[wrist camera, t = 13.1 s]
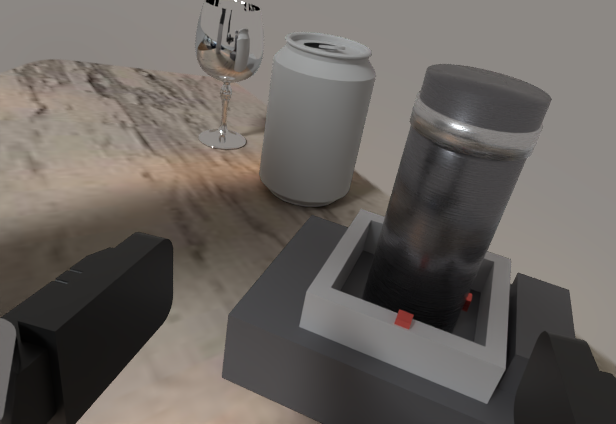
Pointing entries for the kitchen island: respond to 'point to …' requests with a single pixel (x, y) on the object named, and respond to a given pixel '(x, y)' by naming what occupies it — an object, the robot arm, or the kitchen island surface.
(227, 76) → the wineglass
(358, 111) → the can
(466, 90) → the thermos
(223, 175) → the kitchen island surface
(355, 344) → the tray on grey base
